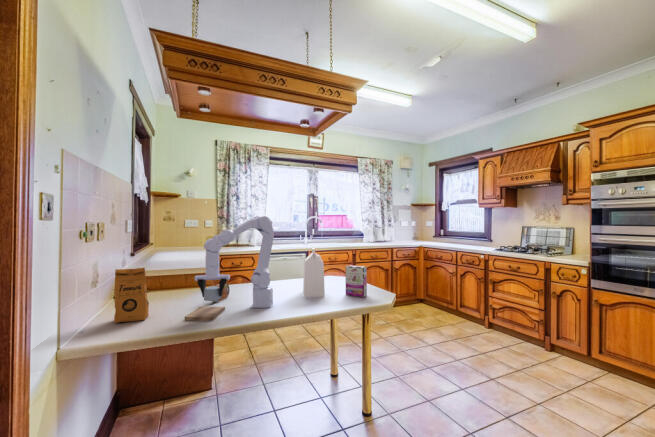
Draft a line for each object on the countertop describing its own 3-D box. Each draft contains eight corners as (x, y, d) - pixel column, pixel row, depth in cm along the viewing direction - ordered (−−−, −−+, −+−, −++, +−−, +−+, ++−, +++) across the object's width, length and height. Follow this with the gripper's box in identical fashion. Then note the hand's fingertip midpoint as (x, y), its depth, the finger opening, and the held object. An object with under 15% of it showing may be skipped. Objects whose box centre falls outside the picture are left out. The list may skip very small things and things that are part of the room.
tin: (214, 304, 145) (214, 287, 145) (208, 304, 145) (208, 287, 145) (230, 296, 159) (230, 281, 159) (224, 296, 160) (224, 281, 160)
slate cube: (220, 298, 130) (220, 287, 130) (213, 301, 125) (213, 289, 125) (211, 297, 131) (211, 286, 131) (203, 300, 126) (203, 289, 126)
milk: (303, 291, 169) (303, 247, 169) (322, 291, 170) (322, 247, 170) (303, 297, 157) (303, 249, 157) (324, 296, 158) (324, 249, 158)
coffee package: (146, 321, 120) (146, 269, 120) (110, 325, 116) (110, 271, 116) (151, 314, 129) (151, 265, 129) (118, 317, 125) (118, 267, 125)
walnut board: (225, 310, 135) (225, 306, 135) (212, 320, 121) (212, 317, 121) (199, 310, 135) (199, 306, 135) (184, 320, 121) (184, 317, 121)
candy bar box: (367, 295, 160) (367, 266, 160) (363, 297, 156) (363, 267, 156) (349, 293, 165) (348, 264, 165) (345, 295, 161) (345, 265, 161)
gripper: (231, 263, 133) (231, 293, 133) (198, 264, 131) (198, 294, 131) (227, 266, 126) (227, 297, 126) (193, 267, 124) (193, 298, 124)
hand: (212, 296), depth 128 cm, fingers closed on slate cube, 7 cm apart
